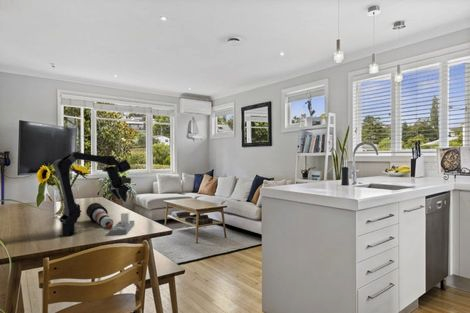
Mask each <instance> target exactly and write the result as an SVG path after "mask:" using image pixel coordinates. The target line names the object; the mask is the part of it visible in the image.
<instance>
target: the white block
mask: <svg viewBox="0 0 470 313" xmlns="http://www.w3.org/2000/svg"><path fill="white" fill-rule="evenodd" d="M120 221H121V224H129V223H130V221H131V211H125V212H124V211H122V212H121V213H120Z"/></svg>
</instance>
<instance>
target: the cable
mask: <svg viewBox="0 0 470 313" xmlns="http://www.w3.org/2000/svg"><path fill="white" fill-rule="evenodd" d="M85 213H86V216H87V217H88V218H89V220H90V221H91V222H93V223H95V224H96V223H97V224H99V225H100V226H101V227H102V228H109V229H112V228H113V227H114V220H113V219H112V218H111V217H110V215H109V214H108V213H109V212H108V209H107V208H106V207H104V205H102V204H101V203H99V202H94V203H90V204H89V205H88V206H87V207H86V212H85Z"/></svg>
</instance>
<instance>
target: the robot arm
mask: <svg viewBox="0 0 470 313" xmlns="http://www.w3.org/2000/svg"><path fill="white" fill-rule="evenodd" d="M78 160H79V161H87V162H94V163H98V164H100V165H102V166H104V167H103V169H102V172H105V173H106V174H107V176H108V179H107V180H108V181H109V182H110V183H109V184H107V190H109V191H110V192H111V194H113V196H114V197H115V198H116V199H117V200H122V201H123V203H126V202H127V192H128V191H130V187H129V186H128V185H126V184H129V185H130V184H131V183H132V178H131V177H128V176H126V175H121V176H120V174H123V173H125V172H128V171H130V170H131V165H130V163H129V162H128V161H127V159H122V160H121V161H118V160H117V159H116V157H114V155H97V154H91V153H84V152H79V151H72V152H70V153H69V154H67V155H65V156H64V157H62V158H59V159H55V160H54V162H53V163H52V169H53V170H54V172H55V174H56V175H57V176H58V179H59V184H60V188H61V192H62V197H63V201H64V207H63V213H62V215H61V216H60V218H59V222H60V223H61V234H59V237H70V236H75V235H76V234H77V233H78V231H75V230H76V228H75V227H76V226H75V224H77V221H78V220H79V218H80V217H81V213H82V211H81V204H79V203H76V201H75V198H74V194H73V188H72V184H71V180H70V170H71V166H72V165H73V164H74V163H75V162H76V161H78ZM119 173H120V174H119ZM109 191H108V192H109Z"/></svg>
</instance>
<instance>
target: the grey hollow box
mask: <svg viewBox="0 0 470 313" xmlns="http://www.w3.org/2000/svg"><path fill="white" fill-rule="evenodd" d="M134 226H135V220H130V223H129V224H121V220H120V221H119V222H117V223H116V224H115V225H113V226H112V228H110V230H109V235H110V236H123V235H126V236H127V235H128V234H129V232H130V231H131V230H132V229H133V228H134Z"/></svg>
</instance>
